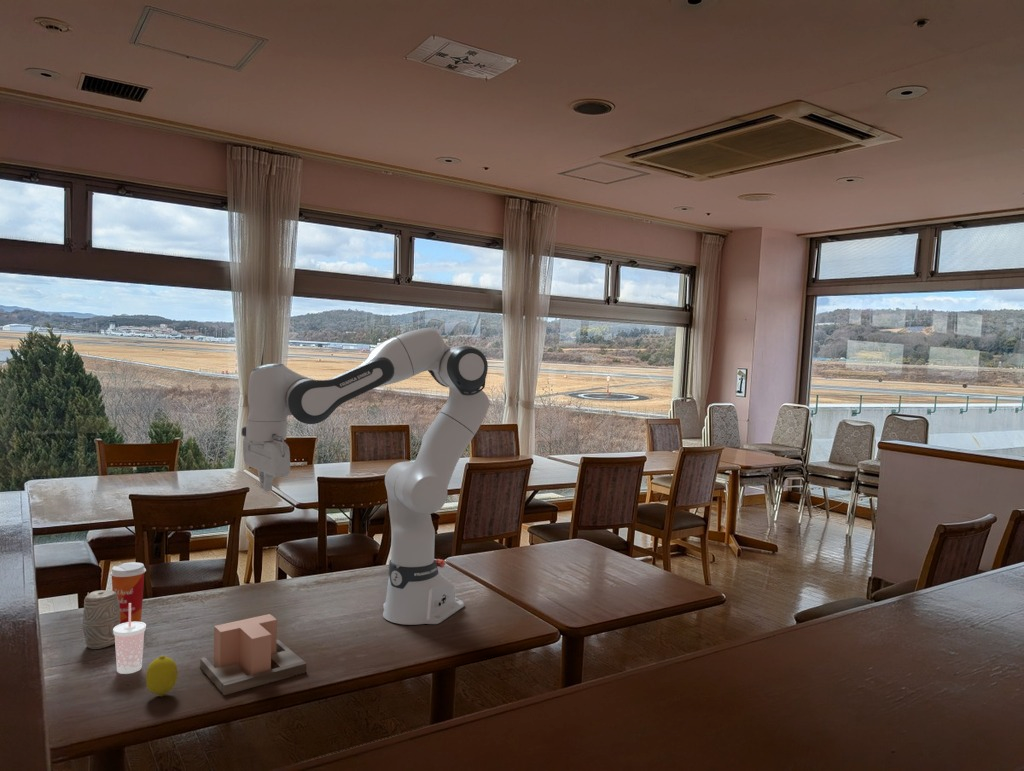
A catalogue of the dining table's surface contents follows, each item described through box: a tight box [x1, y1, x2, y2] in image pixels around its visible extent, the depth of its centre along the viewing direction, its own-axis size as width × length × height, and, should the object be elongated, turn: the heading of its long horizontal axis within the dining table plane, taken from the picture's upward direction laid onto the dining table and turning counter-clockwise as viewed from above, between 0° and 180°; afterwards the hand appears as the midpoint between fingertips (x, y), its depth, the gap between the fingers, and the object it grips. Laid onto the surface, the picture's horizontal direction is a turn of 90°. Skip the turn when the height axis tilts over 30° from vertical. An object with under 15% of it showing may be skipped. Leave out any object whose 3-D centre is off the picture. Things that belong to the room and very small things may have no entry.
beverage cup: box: [113, 603, 147, 675], centre depth 151 cm, size 6×6×14 cm
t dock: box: [199, 639, 307, 696], centre depth 153 cm, size 15×17×2 cm
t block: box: [213, 613, 278, 676], centre depth 153 cm, size 11×12×9 cm
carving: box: [82, 589, 120, 650], centre depth 162 cm, size 6×8×12 cm
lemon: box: [145, 655, 178, 697], centre depth 141 cm, size 6×6×8 cm
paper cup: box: [109, 561, 147, 624], centre depth 175 cm, size 8×8×14 cm
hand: (265, 489), depth 172 cm, fingers closed
